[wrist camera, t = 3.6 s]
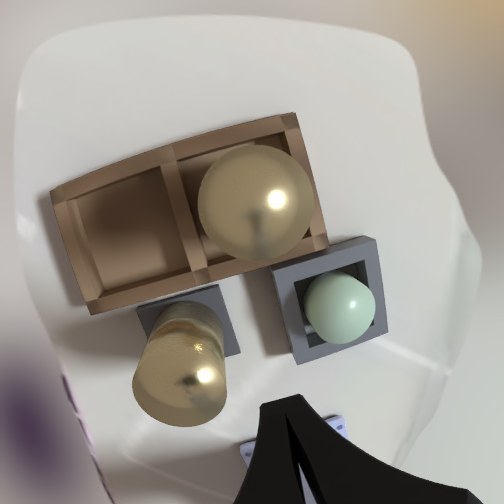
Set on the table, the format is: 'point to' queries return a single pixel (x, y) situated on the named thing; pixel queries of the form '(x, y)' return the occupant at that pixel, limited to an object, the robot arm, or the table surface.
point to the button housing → (317, 263)
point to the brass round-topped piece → (255, 202)
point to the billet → (183, 366)
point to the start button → (338, 307)
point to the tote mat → (204, 296)
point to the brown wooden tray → (164, 217)
